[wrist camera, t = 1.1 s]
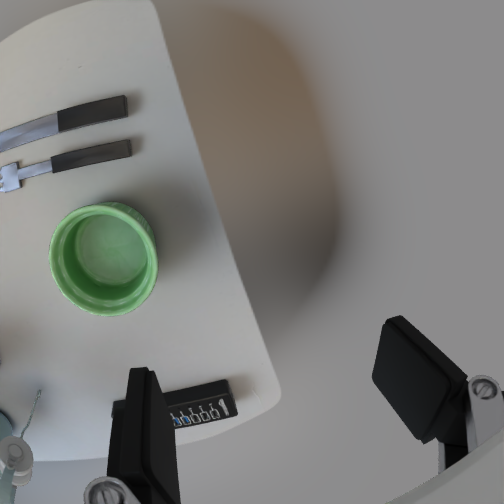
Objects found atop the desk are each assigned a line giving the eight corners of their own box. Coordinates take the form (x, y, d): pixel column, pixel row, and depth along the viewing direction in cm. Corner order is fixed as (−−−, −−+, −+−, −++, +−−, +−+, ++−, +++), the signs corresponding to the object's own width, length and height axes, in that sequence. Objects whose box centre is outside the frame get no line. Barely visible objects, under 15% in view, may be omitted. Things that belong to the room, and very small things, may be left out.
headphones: (30, 364, 27) (-23, 504, 8) (58, 380, 28) (19, 526, 10) (24, 401, 28) (-13, 521, 10) (49, 414, 30) (21, 538, 11)
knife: (-8, 136, 18) (-14, 137, 17) (126, 96, 21) (124, 94, 20) (-7, 155, 19) (-12, 155, 18) (128, 117, 21) (125, 116, 20)
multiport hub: (111, 401, 30) (109, 415, 28) (226, 378, 32) (230, 392, 30) (127, 422, 32) (126, 436, 30) (235, 402, 34) (238, 415, 32)
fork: (-12, 172, 19) (-18, 173, 18) (129, 133, 22) (127, 133, 21) (-8, 196, 20) (-14, 198, 19) (132, 162, 23) (130, 162, 22)
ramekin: (157, 190, 24) (152, 199, 20) (166, 289, 27) (164, 314, 23) (59, 200, 22) (39, 212, 18) (77, 294, 25) (63, 318, 21)
